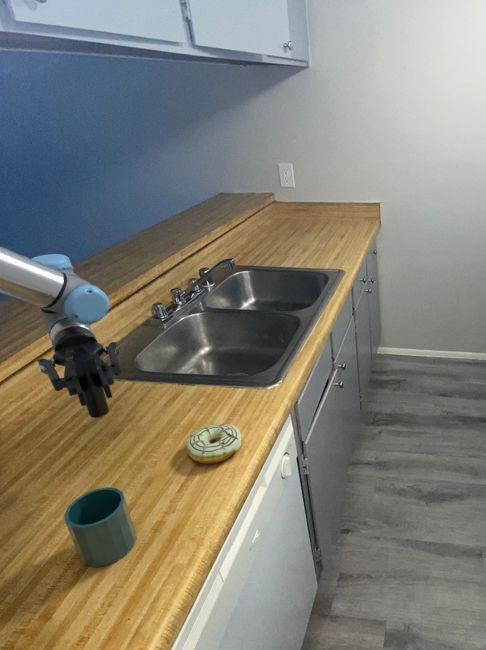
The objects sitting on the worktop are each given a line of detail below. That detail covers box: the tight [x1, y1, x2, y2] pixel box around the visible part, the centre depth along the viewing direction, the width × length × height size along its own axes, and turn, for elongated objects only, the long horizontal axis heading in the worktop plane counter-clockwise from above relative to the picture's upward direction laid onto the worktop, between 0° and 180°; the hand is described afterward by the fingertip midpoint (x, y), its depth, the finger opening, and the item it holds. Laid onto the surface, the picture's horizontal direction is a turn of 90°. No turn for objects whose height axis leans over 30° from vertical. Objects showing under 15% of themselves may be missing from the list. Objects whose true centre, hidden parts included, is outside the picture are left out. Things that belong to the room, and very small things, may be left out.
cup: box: [63, 486, 137, 568], centre depth 76 cm, size 8×8×9 cm
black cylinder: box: [72, 353, 110, 419], centre depth 86 cm, size 3×3×12 cm
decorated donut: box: [185, 423, 243, 465], centre depth 98 cm, size 10×11×4 cm
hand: (95, 395), depth 82 cm, fingers closed on black cylinder, 3 cm apart
